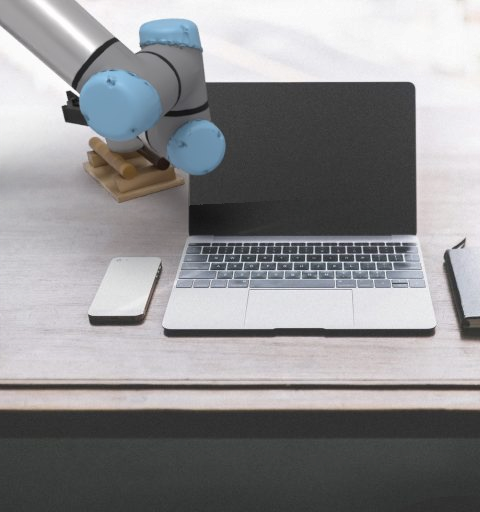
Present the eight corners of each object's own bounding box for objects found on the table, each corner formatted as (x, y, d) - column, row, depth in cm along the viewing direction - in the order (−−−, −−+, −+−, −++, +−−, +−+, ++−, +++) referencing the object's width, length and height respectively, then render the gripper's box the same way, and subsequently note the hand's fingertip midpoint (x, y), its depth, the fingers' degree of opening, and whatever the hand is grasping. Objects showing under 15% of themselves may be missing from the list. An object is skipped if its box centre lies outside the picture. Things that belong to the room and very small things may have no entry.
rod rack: (184, 183, 109) (180, 153, 106) (118, 202, 103) (111, 171, 100) (143, 152, 123) (138, 125, 120) (83, 167, 117) (76, 139, 114)
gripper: (80, 166, 88) (41, 127, 103) (233, 127, 101) (178, 97, 115) (67, 115, 85) (28, 82, 99) (228, 81, 97) (172, 56, 112)
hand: (109, 90), depth 108 cm, fingers open, 13 cm apart
